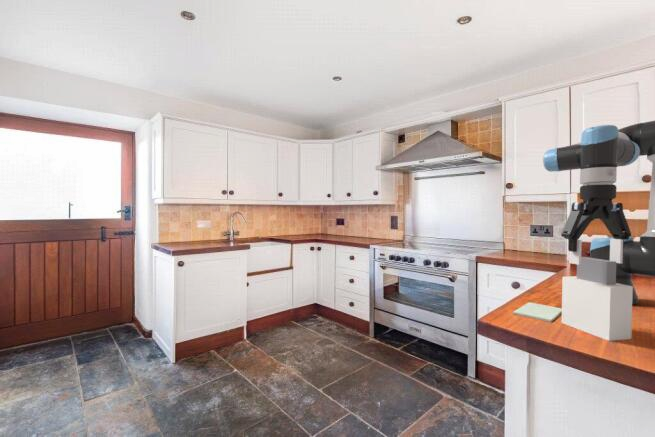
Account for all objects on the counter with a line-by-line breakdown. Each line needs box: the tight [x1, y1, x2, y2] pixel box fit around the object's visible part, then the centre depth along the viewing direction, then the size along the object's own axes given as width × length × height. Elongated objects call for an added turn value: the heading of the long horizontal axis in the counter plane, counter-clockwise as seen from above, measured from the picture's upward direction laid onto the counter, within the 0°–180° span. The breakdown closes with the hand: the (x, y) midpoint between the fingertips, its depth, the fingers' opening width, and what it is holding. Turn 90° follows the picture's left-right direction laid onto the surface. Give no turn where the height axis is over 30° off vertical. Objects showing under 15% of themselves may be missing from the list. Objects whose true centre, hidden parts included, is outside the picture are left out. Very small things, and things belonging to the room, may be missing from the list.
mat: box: [512, 301, 562, 323], centre depth 102 cm, size 10×16×1 cm, turn 132°
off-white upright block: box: [561, 256, 633, 342], centre depth 86 cm, size 7×13×20 cm, turn 11°
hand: (595, 263), depth 86 cm, fingers open, 13 cm apart
